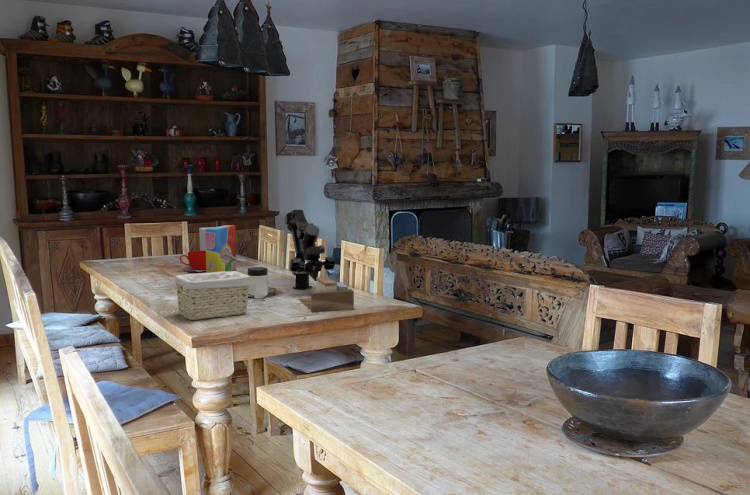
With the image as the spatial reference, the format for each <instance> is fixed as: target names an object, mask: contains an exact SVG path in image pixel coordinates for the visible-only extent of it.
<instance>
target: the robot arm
mask: <svg viewBox="0 0 750 495" xmlns="http://www.w3.org/2000/svg"><path fill="white" fill-rule="evenodd" d="M284 223H285V225H286V228H287V230H288V231H289V232H290V233H291V235H292V236H291V238H292V242H293V246H294V252H295V257H294V258H291V259H290V263H289V271H290V272H291V274H292V275H293V276H295V283H294V284H295V286H293V287H292V289H296V290H307V289H310V288H311V289H312V287H313V286H312V285H310V277H311V279H312V280H313V281H314V282H316V277H319V273H320V272H321V271H322V268H323V269H324V270H326V271H327V270H334V269H335V265H336V263H337V260H336V257H334V256H325V258H324V260H323V259H322V260H320V259H321V254H325V252H326V249H325V245H324V244H319V245H316V243H317V241H318V238H319V233H320V228H319V227H318V226H316V225H314V223H311V222H308V221H307V218H306V215H305V213H304V210H303V209H293V210H292V209H291V211H290V212H287V213H286V214H285V216H284Z"/></svg>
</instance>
